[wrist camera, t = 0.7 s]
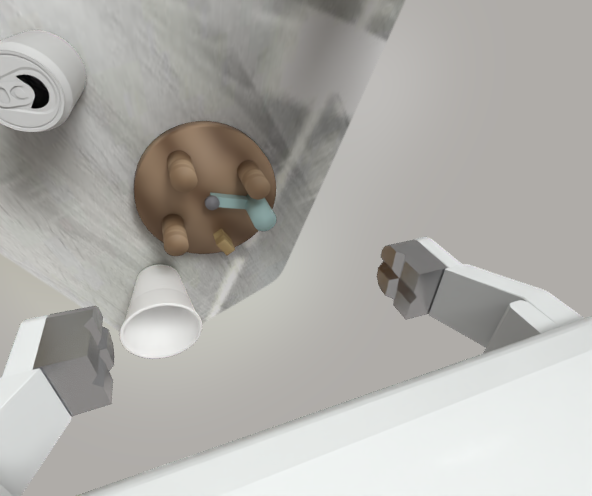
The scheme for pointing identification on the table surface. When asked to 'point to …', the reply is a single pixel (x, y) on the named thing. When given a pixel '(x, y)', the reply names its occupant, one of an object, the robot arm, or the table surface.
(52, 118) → the beverage can
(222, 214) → the stool seat
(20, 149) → the table surface
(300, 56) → the table surface
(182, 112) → the table surface
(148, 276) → the cup
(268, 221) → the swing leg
